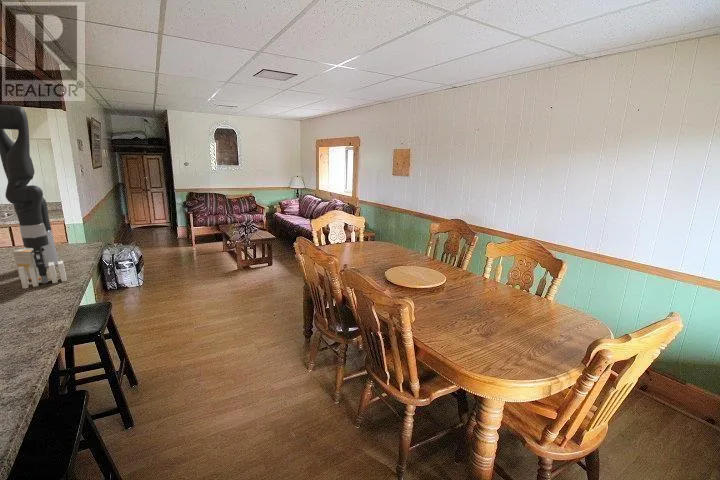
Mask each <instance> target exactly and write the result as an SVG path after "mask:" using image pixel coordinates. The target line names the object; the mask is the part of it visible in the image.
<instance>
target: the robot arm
mask: <svg viewBox="0 0 720 480" xmlns="http://www.w3.org/2000/svg"><path fill="white" fill-rule="evenodd" d="M28 119H29V118H28V115H27V113H26V110H25V109H24V107H22V106H20V105H12V104H10V105H9V104H0V160H1V164H2V167H3V170H4V173H5V174H4V175H5V177H6V179H7V185H6V189H5V198H6V199H5V200H7V202H9V203H10V204H12V205H13V209H14V212H15V214H16V215H17V219H18V224H19V230H20V235H21V240H22V244H23V247H24V248H30V249H33V250H32V252H31V253H32V256H33V258H34V262H35V263H36V267H37V268H38V271H39V275H40V276H45V275H47V276H48V273H47V271H48V270H47V269H48V268H49V266H48V265H49V262H54V266H55V267H56V266H58V261H59V257H58V253H57V249H56V243H55V240H54V235H53V230H52V225H51V222H50V218H49V211H48V204H47V201H46V199H45V198H44V193H43V190H42V188H41V187H39V186H37V185H33V184H32V185H29V184H30V182H31V180H33V179H34V175H35V167H34V164H33V160H32V158H31V156H30V155H31V154H30V153H31V152H30V149H31V148H30V131H29V130H30V129H29V120H28ZM5 130H14V131H15V130H17V132H18V133H17V137H16V140H15V141H13V140H12V139H11V138H10V137H9V136H8V134H7V133H6V131H5ZM40 262H42V264H39V263H40Z"/></svg>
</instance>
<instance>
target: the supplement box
mask: <svg viewBox="0 0 720 480" xmlns="http://www.w3.org/2000/svg"><path fill="white" fill-rule="evenodd" d="M32 250H33V249H30V248H26V247H24V248H19V249H15V250H13V251H12V253H13V254H12V255H13V257H14V260H15V265H16V269H17V272H18V276H19V278H20V275H19V271H18V269H19V267H22V266H25V270H26V274H27V278H28V281H32V280H31V276H30V272H29V265H35V269H36V273H37V277H38V281H39V280H42V279H41V276H40V275H39V271H38V268H37V267H36V263H35V262H34V258H33V256H32V253H31V252H32Z"/></svg>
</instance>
